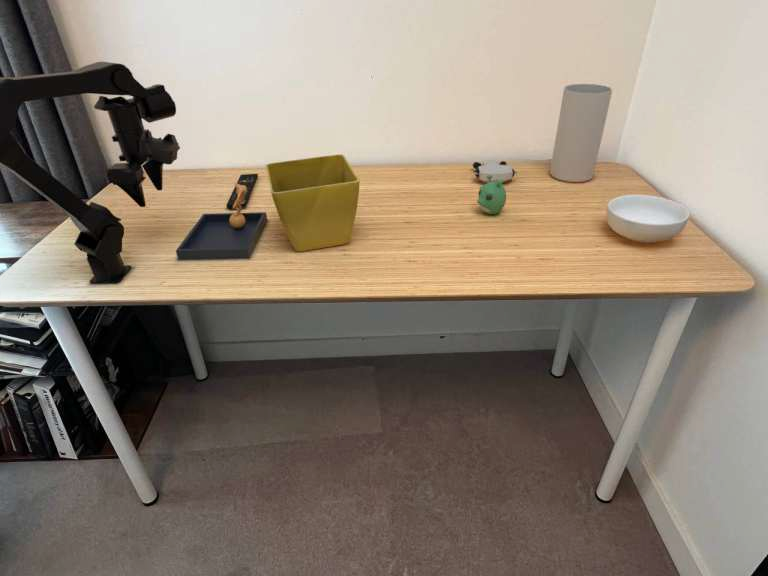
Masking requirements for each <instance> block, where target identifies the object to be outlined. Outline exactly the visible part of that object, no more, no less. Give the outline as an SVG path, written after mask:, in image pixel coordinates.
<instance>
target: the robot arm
mask: <svg viewBox="0 0 768 576" xmlns="http://www.w3.org/2000/svg"><path fill="white" fill-rule="evenodd" d="M85 94H93V95H95V94H96V95H99V96H98V100H97V101H96V102H95V104H94V105H93V108H94V109H95V110H97V111H103V112H107V115H108V116H109V120H110V124H111V126H112V128H113V131H114V135H112V136H111V139H112V142H113V143H118V146H119V149H120V153H121V154H120V155H119V156H118V159H119V162H120V163H119V162H118V163H116V162H115V163H113V164H112V165H111V166H110V167H108V168H107V169H106V171H105V173H104V176H105V178H106V181H107V183H108V184H112V185H113V186H117V187H119V189H121V190H122V191H123V192H124V193H125V194H127V195H128V196H129V197H130V198H131V200H133V201H134V202H135V203H136V204H137V205H138V206H139V207H140V208H145V207H146V205H147V203H146V198H145V193H144V190H143V189H144V188H143V183H144V181H145V180H146V176H144V175H145V174H146V175H147V177H148V178H149V180H150V181H151V183H152V185H153V187H154V188H155V189H156V191H163V170H164V165H172V164H173V163H174V162H175V161H177V159H178V151H179V150H180V149H181V146H180V145H179V142H178V140H177V137H176V135H175V134H171V133H167V134H166V135H164V137H163V138H162V137H158V138H157V137H153V134H152V131H150V129H145V126H144V122H143V120H144V121H145V122H147V123H149V124H150V123H154V122H157V121H162V120H165V119H169V118H172V117H175V116H176V113H177V106H176V105H177V104H176V102H175V100H173V98H172V96H171V94H170V93H169V92H168V91H166V87H165V85H164V84H161V83H160V84H159V83H157V84H152V85H151V86H148V87H144V85H142V84H141V83H140V82H139V81H138V80H136V78H134V75H133V73H132V71H131V70H130V68H128V67H127V66H126V65H125V64H124V63H123V64H122V63H116V62H109V61H97V62H94V63H90V64H86V65H83V66H81V67H79V68H78V69H74V70H72V71H63V72H52V73H42V74H33V75H22V76H13V77H2V76H0V166H2V167H4V168H5V169H6V170H8V171H9V172H10V173H12V174H13V175H15V176H16V177H17V178H18V179H20V180H21V181H22V182H24V183H25V184H26V185H28V186H29V187H30V188H32V190H34V191H36V192H37V193H38V194H39V195H41V196H42V197H44V198H45V199H46V200H47V201H49V202H50V203H51V204H52V205H54V206H55V207H57V208H58V209H59V210H60V211H62V212H63V213H65V214H66V215H67V216H68V217H69V218H70V220H71V222H72V223H73V225H74V226H75V227H76V228H77V229H78V231H79V233H78V236H77V237H76V239H75V242H74V246H75V247H76V248H77V249H78V250H79V251H80V252H83V253H86V261H87V264H88V265H89V267H90V270H91V273H92V274H93V276H92V278H91V279H89V283H90V284H119V283H121V281H122V280H123V279H124V278H125V277H126V275H127V274H128V273H129V272H130V271H131V269H132V265H125V263H124V261H123V258H122V255H121V253H122V252H123V239H124V236H125V227H124V225H123V223H121V221H122V218H120V217H117V216H115V215H114V214H113V213H112V211H111V210H110V209H109V208H108V207H107V206H104V205H102V204H99V203H97V202H94V201H90V203H89V204H88V203H87V202H85V201H84V200H83V199H81V198H80V197H79V196H78V195H76V194H75V193H74V192H73V191H72V190H71V189H69V188H68V187H67V186H66V185H64V184H63V183H62V182H60V181H59V180H58V179H57V178H56V177H55V176H53V175H52V174H51V173H50V172H48V171H47V170H46V169H45V168H44V167H43V166H41V165H40V164H38V163H37V162H36V161H35V160H34V159H32V158H31V157H30V156H29V155H28V154H27V153H26V151H25V149H24V148H23V147H22V145H21V143H19V141H18V140H17V138H16V137H14V135H13V134H12V133H11V132H12V130H13V128H14V126H15V124H16V121H17V118H18V115H19V111H20V108H21V106H22V104H23V103H24V102H31V101H40V100H48V99H53V98H54V99H55V98H63V97H67V96H68V97H70V96H77V95H85ZM104 95H106V96H104ZM107 96H115V97H111V98H109V97H107ZM124 96H128V97H132V98H127V99H126V98H125V97H124ZM144 173H145V174H144Z"/></svg>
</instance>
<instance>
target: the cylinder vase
mask: <svg viewBox="0 0 768 576" xmlns="http://www.w3.org/2000/svg"><path fill="white" fill-rule="evenodd" d="M612 93H613V88H612V87H610V86H606V85H602V84H595V83H574V84H568V85H565V86H564V87H563V93H562V99H561V103H560V104H561V105H560V111H559V117H558V122H557V128H556V133H555V140H554V144H553V145H554V146H553V151H552V158H551V163H550V169H549V174H550V176H552V178H554V179H556V180H558V181H561V182H567V183H584V182H588V181H590V180H592V178H593V177H594V175H595V171H596V166H597V161H598V157H599V152H600V148H601V144H602V143H601V142H602V139H603V134H604V130H605V125H606V120H607V116H608V111H609V108H610V103H611V98H612Z"/></svg>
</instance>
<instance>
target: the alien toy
mask: <svg viewBox="0 0 768 576" xmlns="http://www.w3.org/2000/svg"><path fill="white" fill-rule="evenodd" d="M486 178H487V179H489V182H488V183H486V182H485V184H483V185H481V186H479V191H478V193H477V194H478V199H476V201H477V204H478V205H479V206H480V208H481V210H482V211H483V212H484V213H485V214H488V215H495V214H498V213H500V212H501V211H502V210H503V209H504V208H505V207H504V206H506V202H507V191H506V188H505V186H503V183H504V182H503V181H502V180H501V179H498V180H497V181H491V178H492V175H488V176H487V177H486Z"/></svg>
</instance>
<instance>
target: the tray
mask: <svg viewBox="0 0 768 576" xmlns="http://www.w3.org/2000/svg"><path fill="white" fill-rule="evenodd" d="M234 213H235V212H226V213H225V212H221V213H217V212H216V213H203V214H202V215H201V216H200V218H199V219H198V221H196V223H195V224H194V225H193V227H192V229H191V230H190V231H189V232H188V234H187V235H186V236H185V238H184V239H183V240H182V242H181V243H180V244H179V246H178V247H177V248H176V250H175V253H176V256H177V260H178V261H200V260H203V261H204V260H242V259H243V260H244V259H245V260H246V259H247V260H248V259H250V258H251V257H252V255H253V252H254V250H255V248H256V246H257V244H258V242H259V240H260V238H261V235H262V234H263V231H264V229H265V228H266V225H267V223H268V216H267V215H268V214H267V212H266V211H265V212H263V211H261V212H260V211H259V212H240V214H242V215H243V216H244V217H245V220H246V223H245V225H244V227H242V228H240V229H235V228H233V227H232V226H231V225H230V223H229V219H230V216H231V215H232V214H234Z"/></svg>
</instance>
